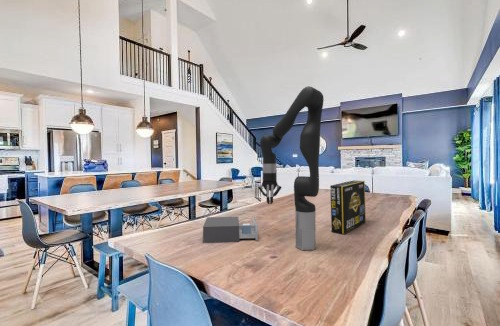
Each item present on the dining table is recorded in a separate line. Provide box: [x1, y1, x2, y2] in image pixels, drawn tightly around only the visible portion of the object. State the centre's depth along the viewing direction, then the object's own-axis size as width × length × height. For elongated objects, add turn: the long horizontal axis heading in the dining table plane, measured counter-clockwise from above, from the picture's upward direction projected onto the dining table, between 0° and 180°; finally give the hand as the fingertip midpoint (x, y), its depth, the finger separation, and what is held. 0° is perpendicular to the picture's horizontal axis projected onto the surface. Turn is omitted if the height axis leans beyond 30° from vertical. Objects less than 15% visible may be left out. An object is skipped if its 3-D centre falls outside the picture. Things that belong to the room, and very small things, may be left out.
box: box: [329, 180, 367, 235], centre depth 153 cm, size 34×8×27 cm, turn 137°
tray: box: [239, 215, 259, 241], centre depth 139 cm, size 18×20×8 cm
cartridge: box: [241, 222, 252, 233], centre depth 139 cm, size 4×5×4 cm
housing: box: [202, 216, 240, 244], centre depth 138 cm, size 18×20×8 cm
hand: (269, 203), depth 140 cm, fingers closed
